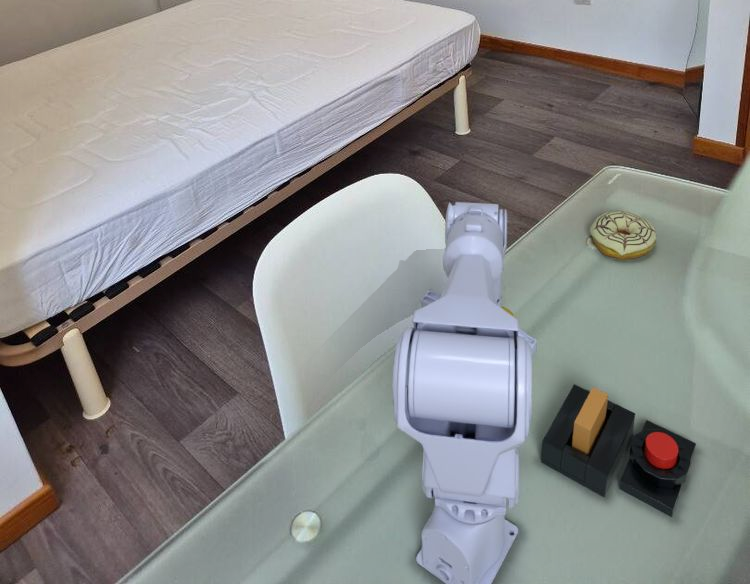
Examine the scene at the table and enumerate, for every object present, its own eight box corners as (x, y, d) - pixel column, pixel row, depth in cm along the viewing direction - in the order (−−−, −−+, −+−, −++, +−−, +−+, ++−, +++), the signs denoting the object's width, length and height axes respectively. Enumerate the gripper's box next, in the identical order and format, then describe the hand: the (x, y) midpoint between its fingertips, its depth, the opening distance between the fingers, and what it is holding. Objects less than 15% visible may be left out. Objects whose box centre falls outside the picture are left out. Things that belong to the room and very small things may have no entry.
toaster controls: (673, 519, 78) (677, 502, 77) (616, 487, 82) (619, 471, 80) (696, 451, 85) (700, 435, 84) (643, 425, 89) (645, 409, 87)
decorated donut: (577, 239, 122) (578, 222, 121) (618, 217, 127) (620, 200, 125) (624, 271, 114) (626, 253, 112) (667, 246, 119) (669, 229, 117)
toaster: (604, 498, 81) (607, 476, 79) (540, 462, 85) (542, 441, 83) (632, 434, 88) (635, 413, 86) (572, 404, 92) (574, 383, 90)
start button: (671, 474, 80) (673, 465, 79) (640, 458, 82) (641, 449, 81) (680, 451, 82) (682, 441, 82) (649, 436, 84) (651, 426, 84)
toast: (586, 466, 83) (590, 430, 81) (570, 458, 84) (574, 422, 82) (604, 430, 88) (608, 394, 85) (588, 422, 89) (592, 387, 86)
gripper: (550, 294, 78) (544, 376, 84) (440, 248, 86) (443, 326, 92) (523, 336, 73) (519, 419, 79) (409, 283, 81) (414, 362, 87)
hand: (476, 372), depth 85 cm, fingers closed
